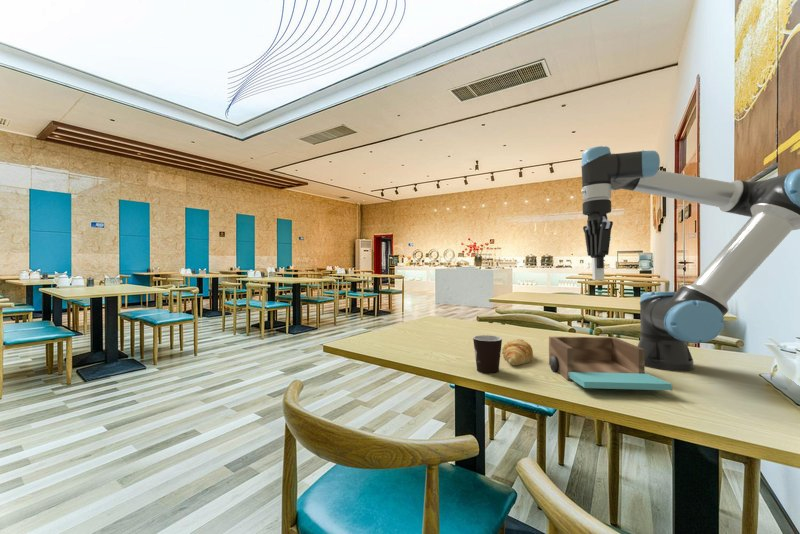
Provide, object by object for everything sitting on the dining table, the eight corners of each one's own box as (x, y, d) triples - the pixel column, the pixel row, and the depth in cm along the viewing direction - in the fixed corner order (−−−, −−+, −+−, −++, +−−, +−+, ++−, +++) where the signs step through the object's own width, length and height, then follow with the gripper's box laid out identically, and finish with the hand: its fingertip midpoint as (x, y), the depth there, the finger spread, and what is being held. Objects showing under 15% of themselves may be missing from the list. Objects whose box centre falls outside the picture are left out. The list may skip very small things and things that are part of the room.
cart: (619, 365, 110) (618, 337, 110) (649, 382, 94) (649, 349, 94) (544, 364, 112) (544, 336, 112) (562, 380, 97) (562, 348, 97)
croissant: (521, 379, 108) (534, 358, 106) (492, 361, 112) (504, 340, 110) (529, 361, 127) (540, 343, 125) (504, 346, 131) (514, 328, 129)
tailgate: (645, 373, 94) (671, 383, 83) (645, 378, 94) (672, 390, 83) (568, 371, 96) (584, 381, 85) (568, 376, 96) (584, 387, 85)
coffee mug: (498, 376, 100) (498, 342, 100) (469, 372, 105) (469, 339, 105) (507, 366, 110) (507, 335, 110) (480, 362, 115) (480, 332, 115)
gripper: (574, 205, 111) (575, 278, 111) (594, 196, 98) (596, 280, 98) (598, 204, 110) (599, 278, 110) (622, 195, 97) (623, 280, 97)
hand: (598, 279), depth 104 cm, fingers closed
